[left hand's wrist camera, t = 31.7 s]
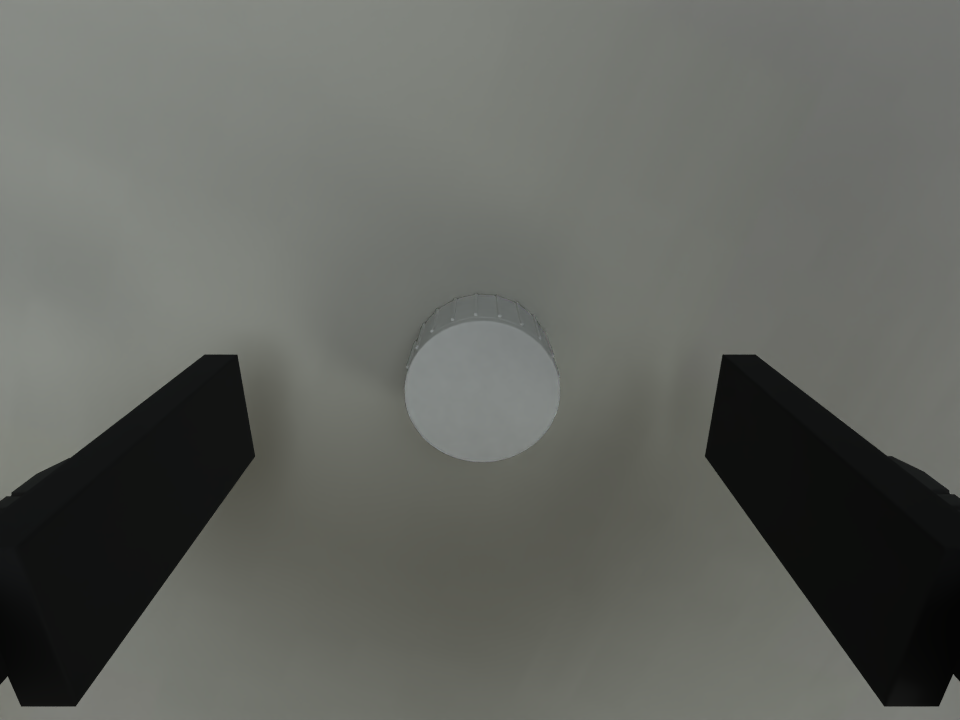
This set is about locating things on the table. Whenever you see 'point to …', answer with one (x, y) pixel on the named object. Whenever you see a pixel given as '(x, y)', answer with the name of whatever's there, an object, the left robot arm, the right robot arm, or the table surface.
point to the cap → (482, 379)
